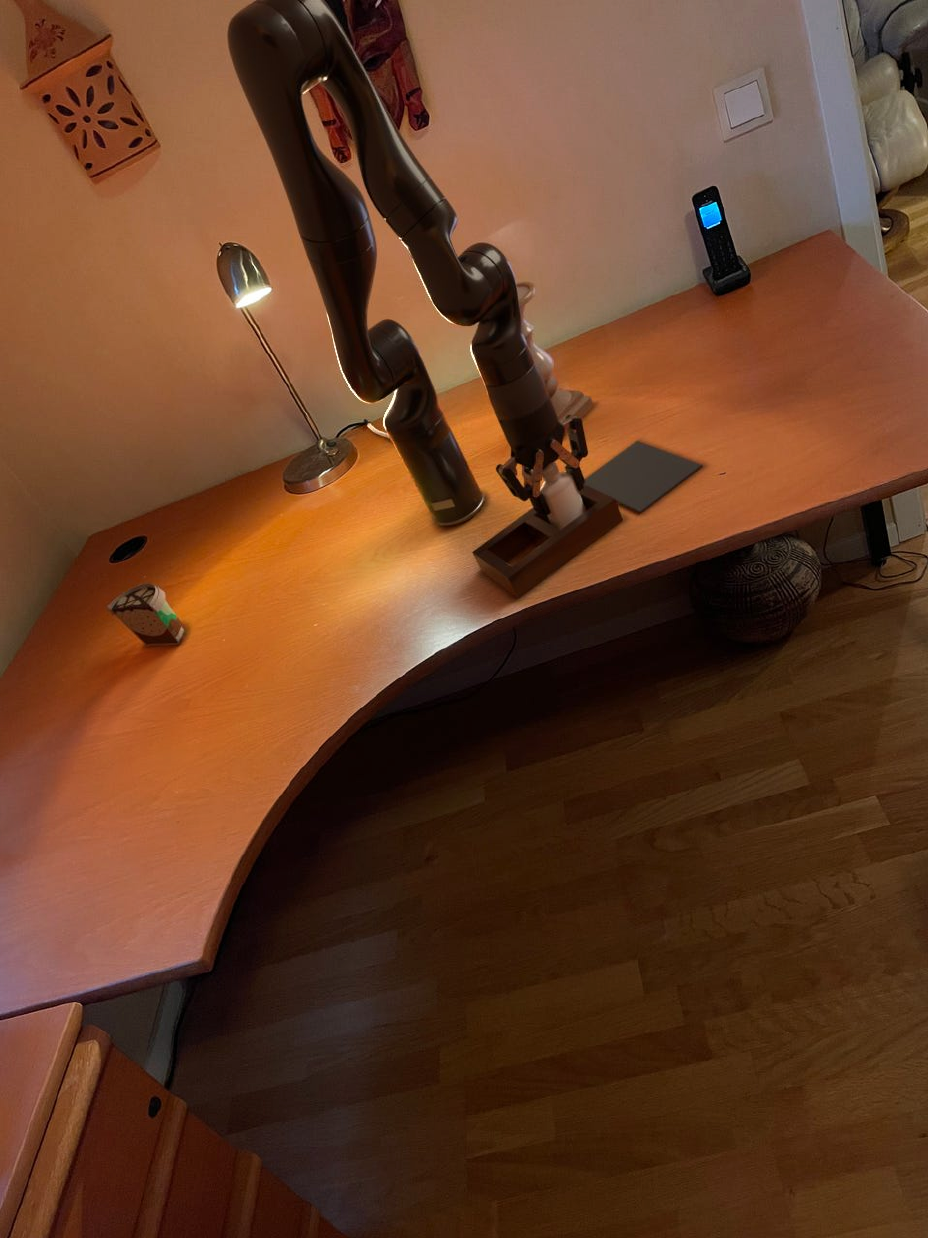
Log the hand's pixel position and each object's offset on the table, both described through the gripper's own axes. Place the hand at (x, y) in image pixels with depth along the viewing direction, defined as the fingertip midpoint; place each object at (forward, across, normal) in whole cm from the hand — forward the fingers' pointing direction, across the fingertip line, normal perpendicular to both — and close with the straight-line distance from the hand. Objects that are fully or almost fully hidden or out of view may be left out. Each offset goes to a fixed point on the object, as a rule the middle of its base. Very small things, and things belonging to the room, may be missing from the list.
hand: (561, 500), depth 120 cm
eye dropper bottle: (+5, 0, 0) cm, 5 cm away
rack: (+5, +4, 0) cm, 7 cm away
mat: (+5, -14, -1) cm, 15 cm away
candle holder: (+6, -18, -30) cm, 35 cm away
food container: (+6, +59, -48) cm, 76 cm away
